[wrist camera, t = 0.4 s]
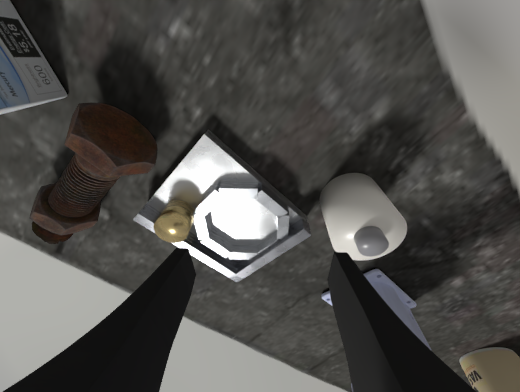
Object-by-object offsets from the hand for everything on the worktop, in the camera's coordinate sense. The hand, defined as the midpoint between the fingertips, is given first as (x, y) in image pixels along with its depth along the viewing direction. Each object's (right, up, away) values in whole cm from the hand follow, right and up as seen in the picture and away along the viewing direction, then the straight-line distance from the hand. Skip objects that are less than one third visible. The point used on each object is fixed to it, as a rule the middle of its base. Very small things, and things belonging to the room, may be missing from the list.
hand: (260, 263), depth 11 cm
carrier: (-3, +2, +10) cm, 11 cm away
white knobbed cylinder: (+8, +3, +9) cm, 12 cm away
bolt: (-15, +5, +9) cm, 19 cm away
